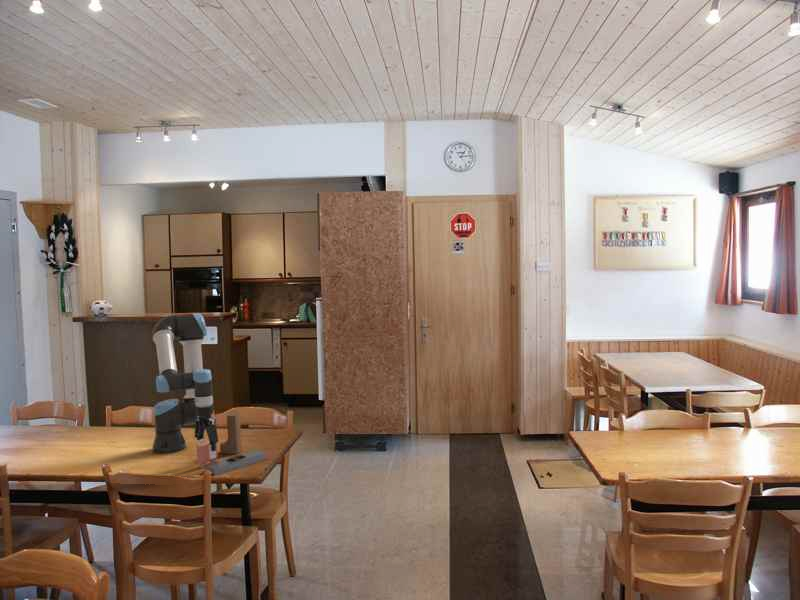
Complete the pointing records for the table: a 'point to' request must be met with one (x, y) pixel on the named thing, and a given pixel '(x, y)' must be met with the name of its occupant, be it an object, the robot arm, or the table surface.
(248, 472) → the table surface
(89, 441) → the table surface
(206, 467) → the rail
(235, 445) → the wooden block
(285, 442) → the table surface
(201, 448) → the pink slab
